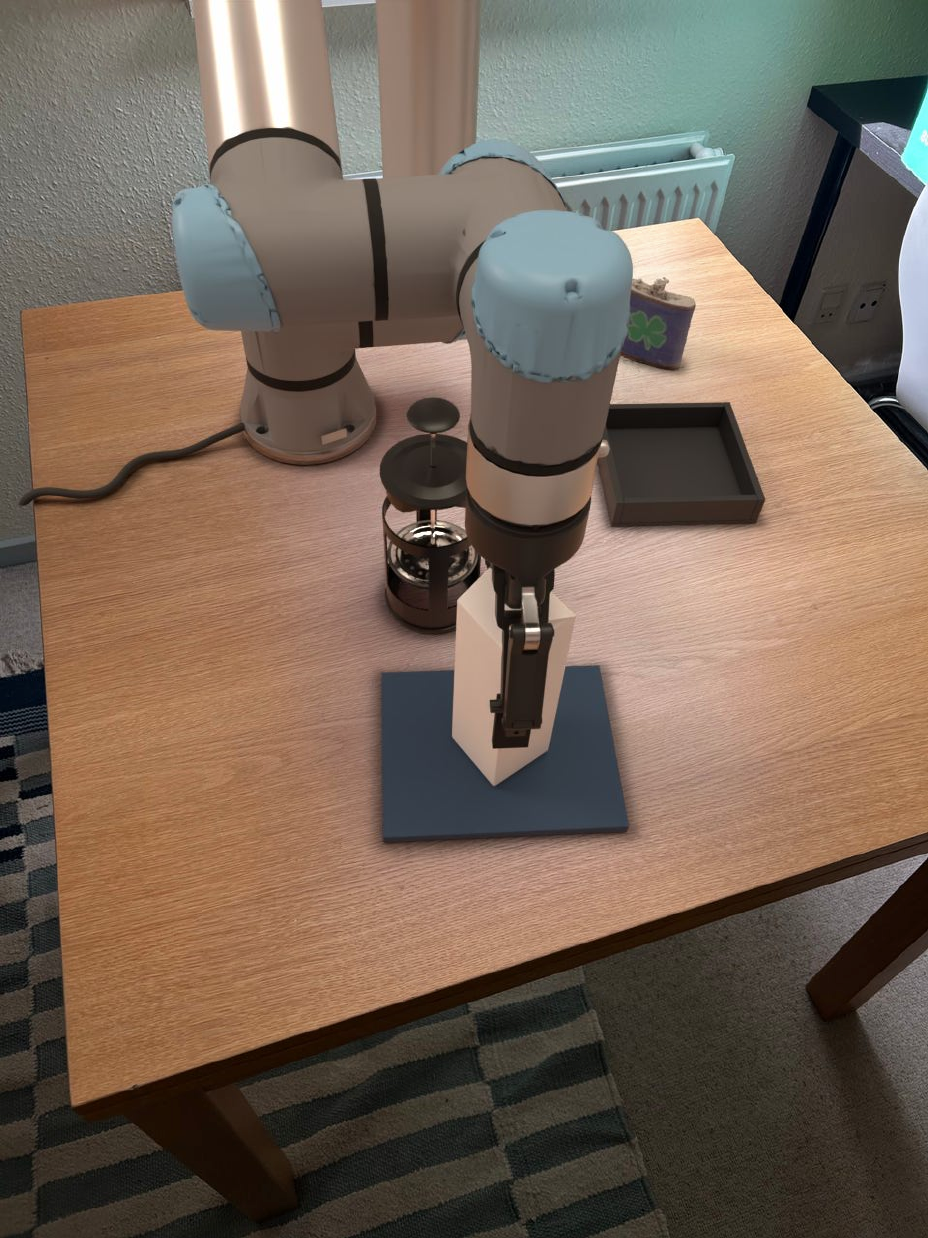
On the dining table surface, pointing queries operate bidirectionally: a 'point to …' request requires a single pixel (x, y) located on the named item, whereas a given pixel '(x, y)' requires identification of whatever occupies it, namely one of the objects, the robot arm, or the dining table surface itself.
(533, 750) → the milk
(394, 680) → the mat
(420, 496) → the french press
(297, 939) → the dining table surface
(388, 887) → the dining table surface
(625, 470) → the tray
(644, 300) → the flask
